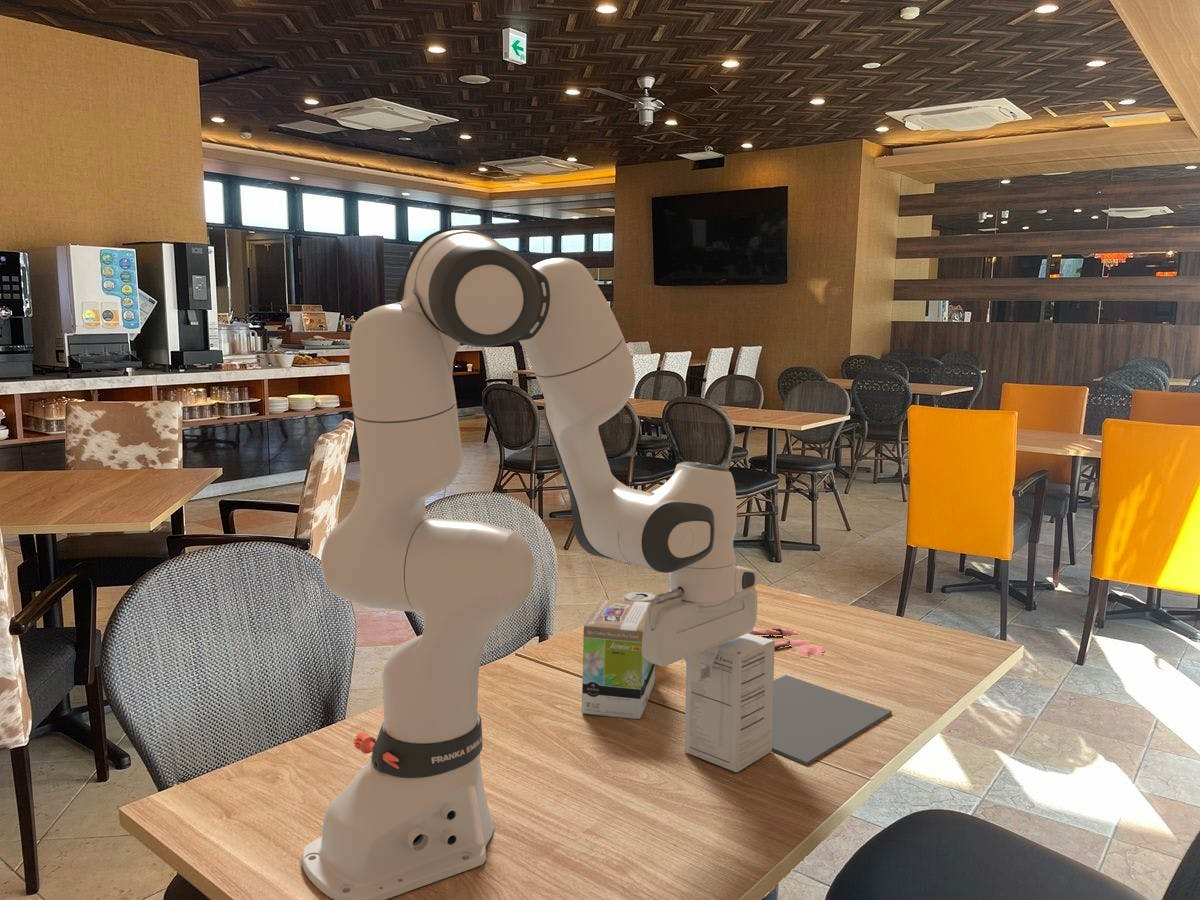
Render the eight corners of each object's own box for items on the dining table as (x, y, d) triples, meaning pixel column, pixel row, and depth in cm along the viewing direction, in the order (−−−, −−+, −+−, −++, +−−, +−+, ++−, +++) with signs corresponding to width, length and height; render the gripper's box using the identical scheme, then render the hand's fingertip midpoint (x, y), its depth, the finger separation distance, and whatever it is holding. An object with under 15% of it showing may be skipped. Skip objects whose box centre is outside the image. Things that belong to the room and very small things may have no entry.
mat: (806, 765, 125) (806, 762, 125) (696, 719, 139) (697, 716, 139) (891, 713, 141) (891, 710, 141) (785, 677, 156) (785, 674, 155)
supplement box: (773, 752, 129) (778, 640, 126) (737, 774, 122) (741, 656, 120) (719, 731, 135) (722, 624, 133) (681, 751, 128) (685, 639, 126)
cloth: (837, 664, 164) (838, 651, 163) (718, 663, 164) (718, 650, 164) (812, 626, 184) (813, 615, 183) (706, 625, 184) (707, 614, 184)
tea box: (643, 721, 139) (644, 630, 137) (580, 715, 141) (580, 625, 139) (656, 683, 153) (657, 600, 151) (599, 678, 155) (599, 596, 153)
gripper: (667, 603, 110) (666, 708, 112) (766, 570, 124) (763, 665, 126) (631, 591, 115) (630, 693, 117) (730, 561, 129) (728, 652, 131)
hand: (700, 678), depth 122 cm, fingers closed
